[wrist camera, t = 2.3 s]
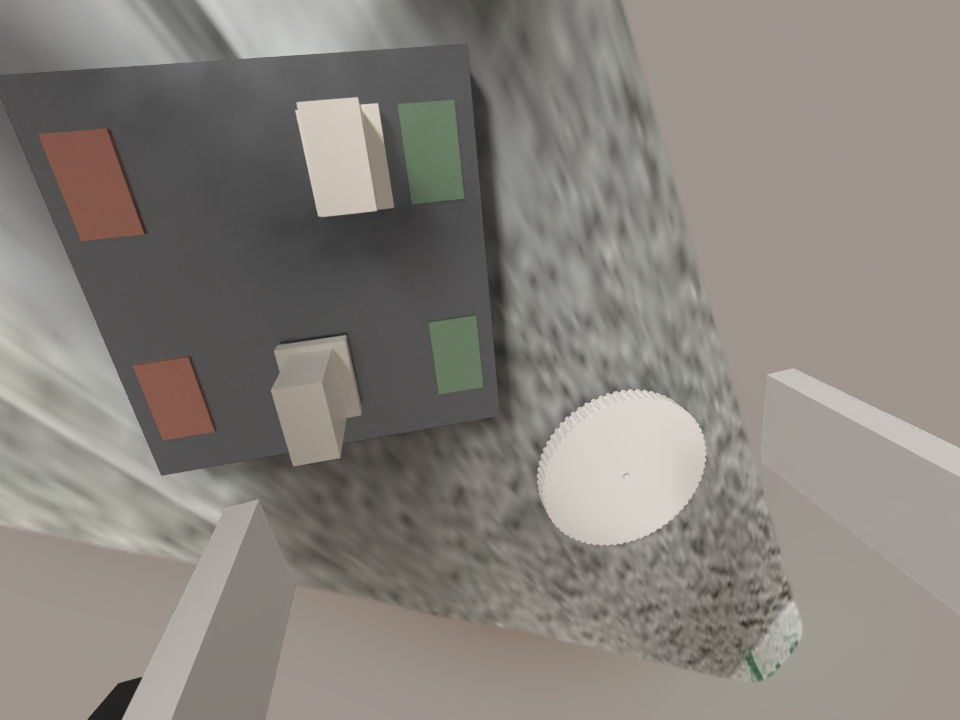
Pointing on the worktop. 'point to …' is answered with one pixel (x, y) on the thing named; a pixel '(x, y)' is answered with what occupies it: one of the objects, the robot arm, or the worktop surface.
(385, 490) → the worktop surface
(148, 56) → the worktop surface
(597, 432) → the plastic lid
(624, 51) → the worktop surface
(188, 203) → the breaker box
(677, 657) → the worktop surface
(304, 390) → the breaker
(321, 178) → the lever
